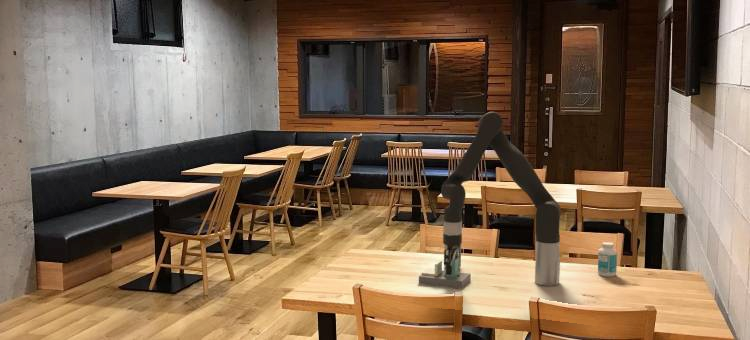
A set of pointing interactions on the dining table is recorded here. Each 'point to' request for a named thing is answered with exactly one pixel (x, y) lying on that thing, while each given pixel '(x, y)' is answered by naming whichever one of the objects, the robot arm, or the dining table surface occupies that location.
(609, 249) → the pill bottle
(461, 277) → the socket block
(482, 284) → the dining table surface
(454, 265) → the teal flat-sided block
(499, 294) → the dining table surface
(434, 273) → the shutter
